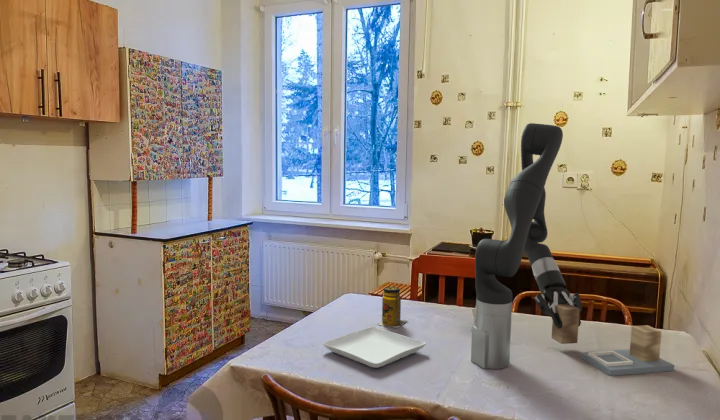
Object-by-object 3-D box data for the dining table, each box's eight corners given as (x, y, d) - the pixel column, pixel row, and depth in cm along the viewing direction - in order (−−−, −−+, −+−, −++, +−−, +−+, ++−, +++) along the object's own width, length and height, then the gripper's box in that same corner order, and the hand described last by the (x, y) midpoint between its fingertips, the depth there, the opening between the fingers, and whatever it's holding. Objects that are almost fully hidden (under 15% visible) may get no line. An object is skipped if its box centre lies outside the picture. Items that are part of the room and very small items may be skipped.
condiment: (377, 325, 168) (377, 289, 166) (387, 318, 175) (388, 283, 174) (397, 328, 164) (398, 292, 163) (407, 321, 172) (408, 286, 170)
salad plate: (320, 353, 143) (320, 341, 143) (372, 335, 158) (372, 324, 158) (376, 376, 129) (376, 363, 128) (427, 354, 144) (428, 342, 143)
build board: (610, 375, 130) (610, 367, 130) (580, 357, 142) (581, 349, 142) (674, 370, 134) (674, 362, 134) (640, 353, 146) (641, 345, 145)
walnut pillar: (561, 343, 145) (563, 309, 144) (551, 337, 149) (553, 304, 149) (577, 343, 146) (579, 308, 145) (566, 337, 151) (568, 303, 150)
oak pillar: (643, 361, 136) (645, 332, 135) (629, 354, 141) (631, 326, 140) (659, 360, 137) (661, 331, 136) (645, 353, 142) (647, 325, 141)
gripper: (531, 269, 152) (552, 321, 141) (574, 268, 155) (598, 319, 144) (521, 282, 157) (540, 333, 147) (563, 281, 160) (585, 331, 150)
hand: (569, 326), depth 145 cm, fingers closed on walnut pillar, 5 cm apart
